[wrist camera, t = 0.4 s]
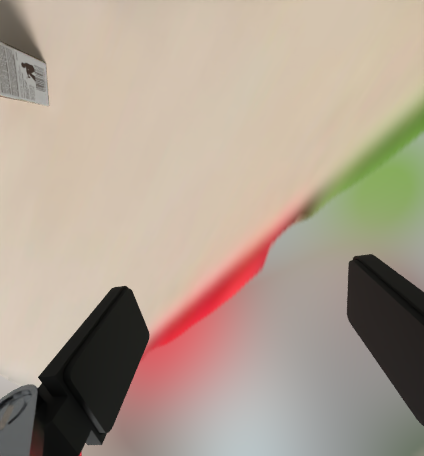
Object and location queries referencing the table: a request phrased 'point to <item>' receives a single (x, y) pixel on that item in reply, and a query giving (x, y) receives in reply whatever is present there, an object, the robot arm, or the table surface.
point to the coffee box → (22, 76)
